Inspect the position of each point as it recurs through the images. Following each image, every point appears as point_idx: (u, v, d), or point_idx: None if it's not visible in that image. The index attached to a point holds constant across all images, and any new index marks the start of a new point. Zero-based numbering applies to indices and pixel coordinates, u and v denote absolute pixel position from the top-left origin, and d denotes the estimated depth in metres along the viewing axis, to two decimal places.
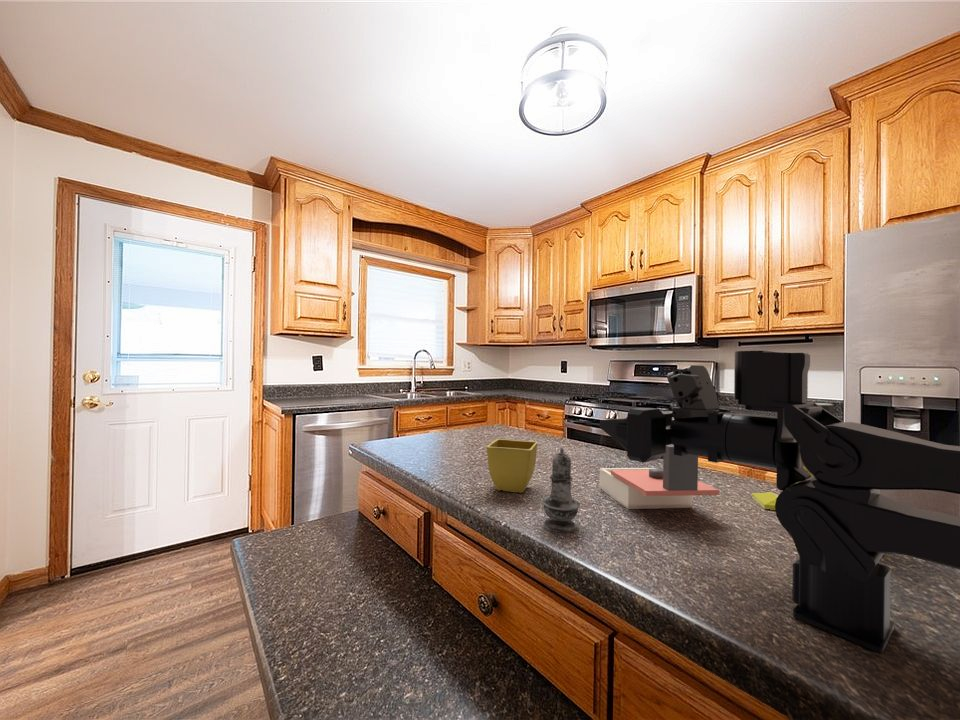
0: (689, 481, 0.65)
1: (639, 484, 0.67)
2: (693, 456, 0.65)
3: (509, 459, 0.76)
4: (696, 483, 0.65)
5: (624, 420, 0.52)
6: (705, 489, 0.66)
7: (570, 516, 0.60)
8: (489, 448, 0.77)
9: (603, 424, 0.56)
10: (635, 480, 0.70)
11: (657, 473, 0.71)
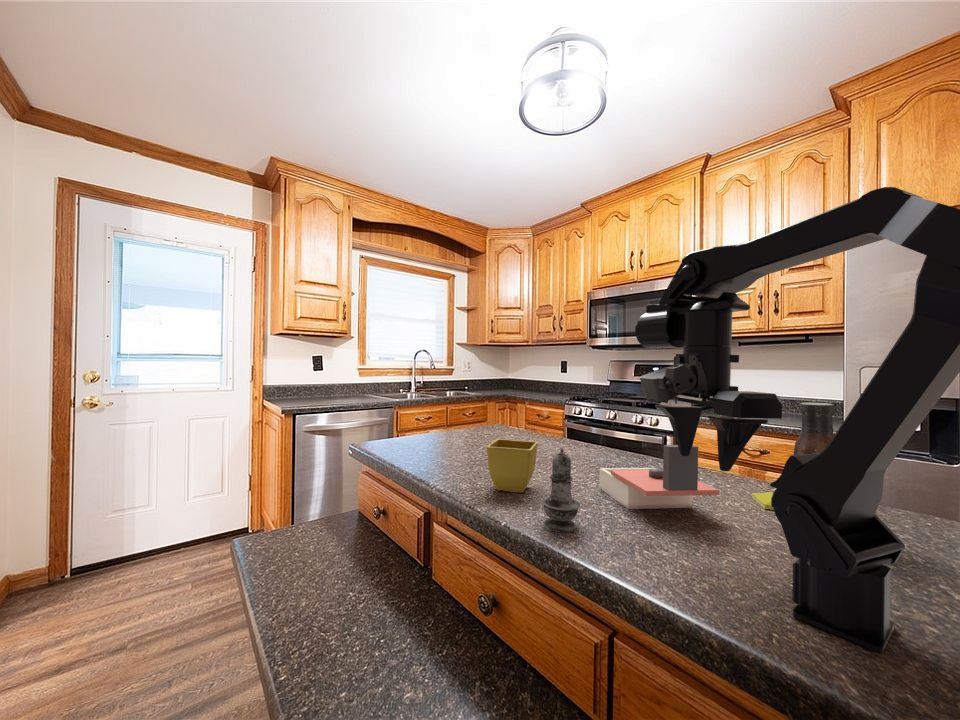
0: (689, 481, 0.65)
1: (639, 484, 0.67)
2: (693, 456, 0.65)
3: (509, 459, 0.76)
4: (696, 483, 0.65)
5: (727, 433, 0.48)
6: (705, 489, 0.66)
7: (570, 516, 0.60)
8: (489, 448, 0.77)
9: (727, 465, 0.50)
10: (635, 480, 0.70)
11: (657, 473, 0.71)
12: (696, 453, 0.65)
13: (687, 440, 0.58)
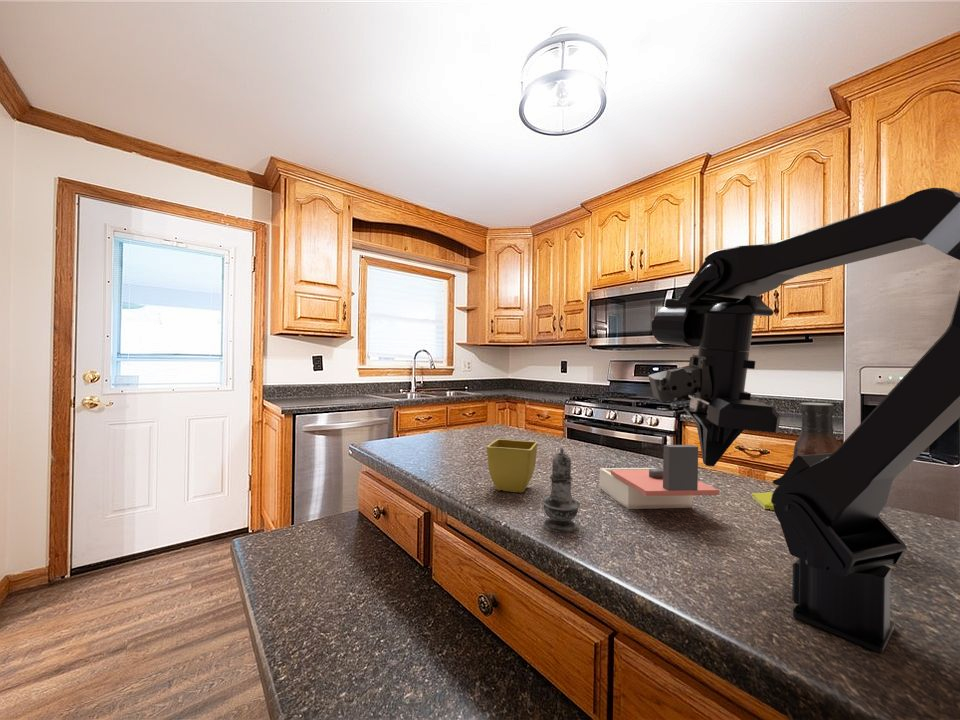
0: (689, 481, 0.65)
1: (639, 484, 0.67)
2: (693, 456, 0.65)
3: (509, 459, 0.76)
4: (696, 483, 0.65)
5: (709, 431, 0.52)
6: (705, 489, 0.66)
7: (570, 516, 0.60)
8: (489, 448, 0.77)
9: (710, 460, 0.53)
10: (635, 480, 0.70)
11: (657, 473, 0.71)
12: (696, 453, 0.65)
13: None
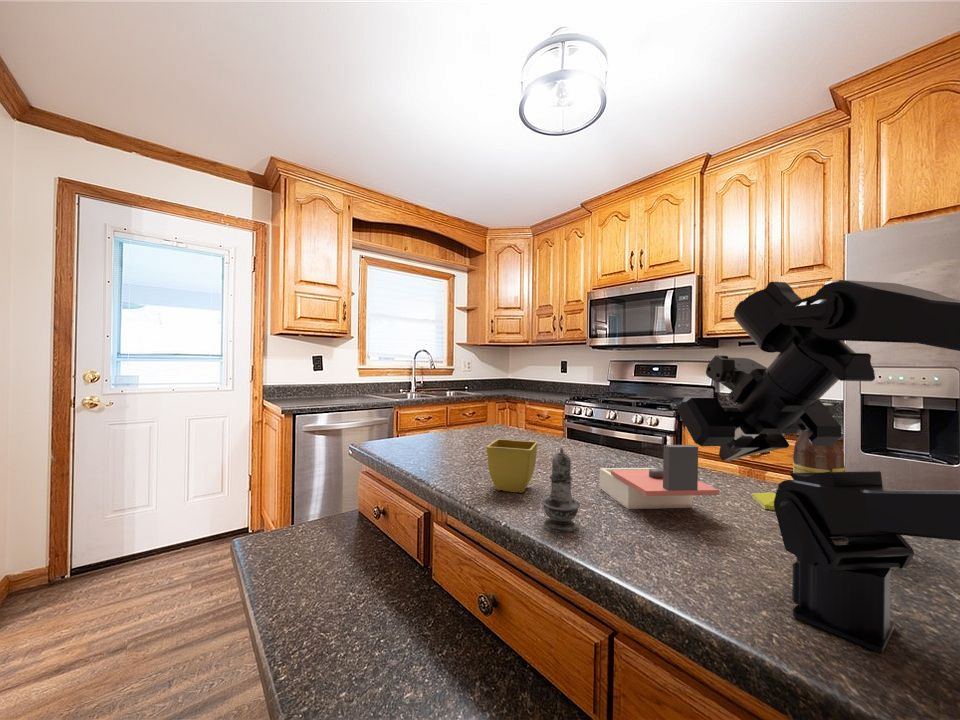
0: (689, 481, 0.65)
1: (639, 484, 0.67)
2: (693, 456, 0.65)
3: (509, 459, 0.76)
4: (696, 483, 0.65)
5: None
6: (705, 489, 0.66)
7: (570, 515, 0.60)
8: (489, 448, 0.77)
9: (721, 454, 0.55)
10: (635, 480, 0.70)
11: (657, 473, 0.71)
12: (696, 453, 0.65)
13: None
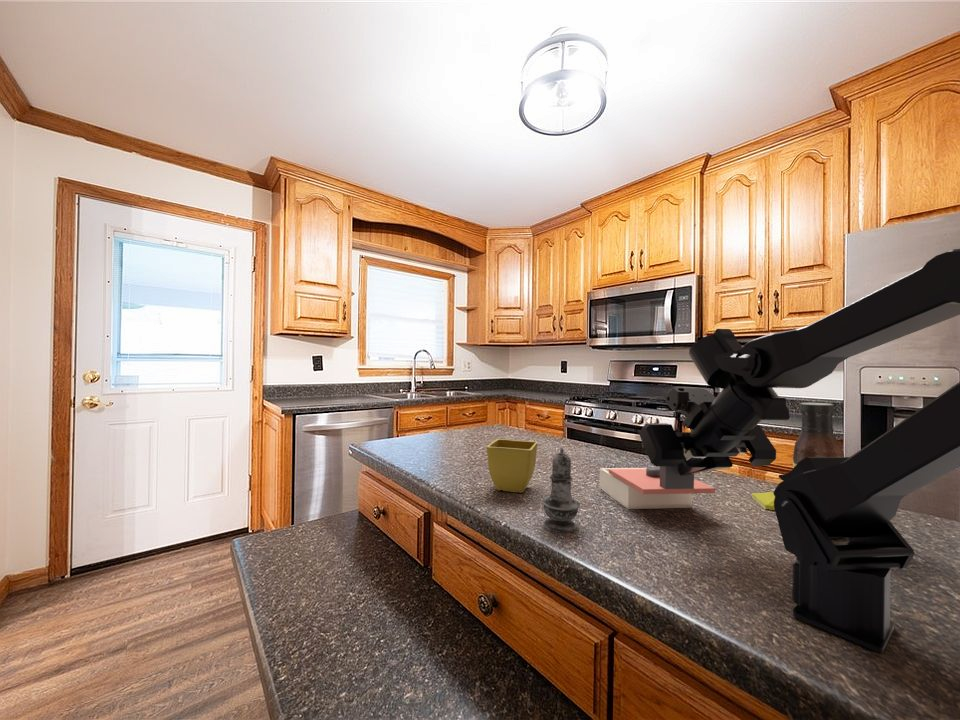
0: (685, 479, 0.66)
1: (636, 482, 0.68)
2: None
3: (509, 459, 0.76)
4: (692, 481, 0.66)
5: None
6: (701, 487, 0.66)
7: (570, 516, 0.60)
8: (489, 448, 0.77)
9: (679, 469, 0.65)
10: (632, 479, 0.71)
11: (654, 472, 0.72)
12: None
13: None
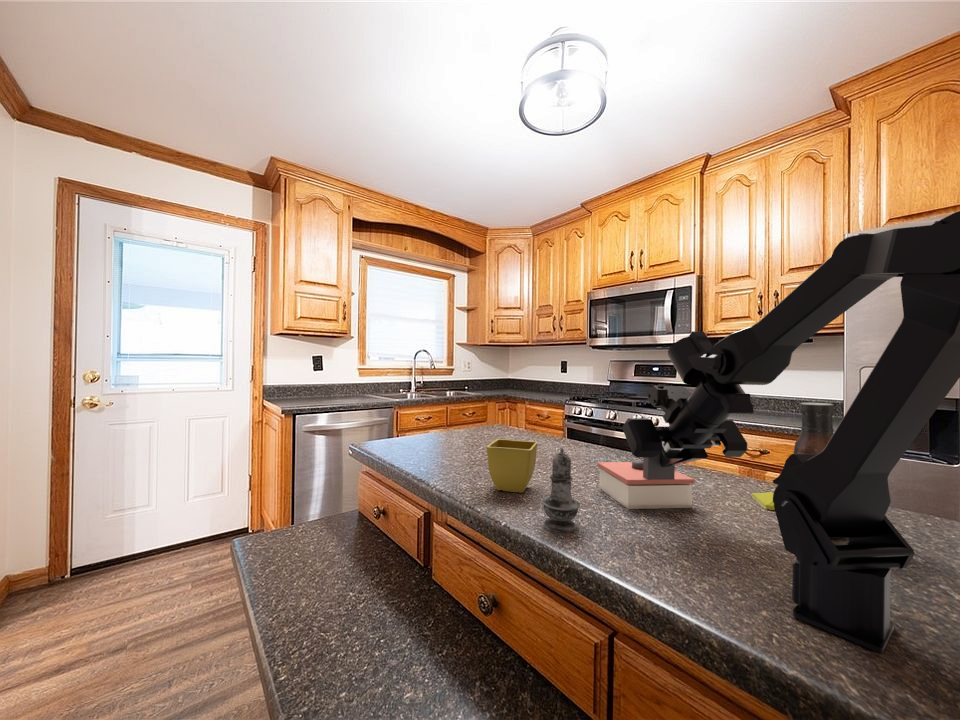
0: (667, 471, 0.71)
1: (622, 474, 0.74)
2: None
3: (509, 459, 0.76)
4: (673, 473, 0.71)
5: None
6: (681, 478, 0.72)
7: (570, 516, 0.60)
8: (489, 448, 0.77)
9: (660, 461, 0.70)
10: (618, 471, 0.76)
11: (639, 464, 0.77)
12: None
13: None
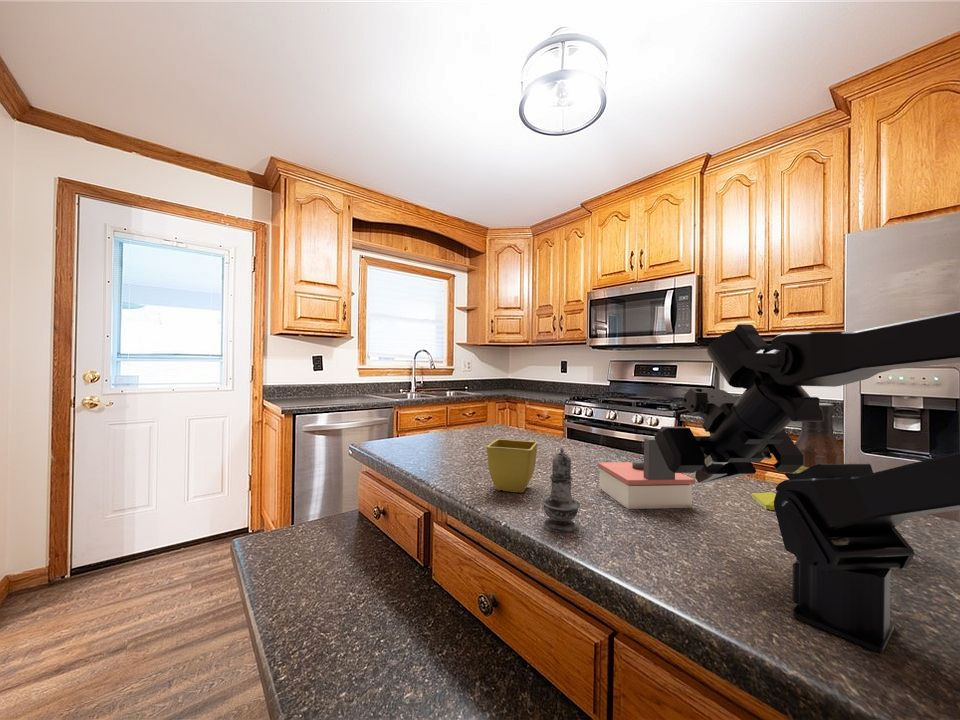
0: (667, 471, 0.71)
1: (622, 474, 0.73)
2: None
3: (509, 459, 0.76)
4: (674, 473, 0.71)
5: None
6: (682, 478, 0.72)
7: (570, 516, 0.60)
8: (489, 448, 0.77)
9: (697, 476, 0.60)
10: (619, 471, 0.76)
11: (639, 464, 0.77)
12: None
13: None
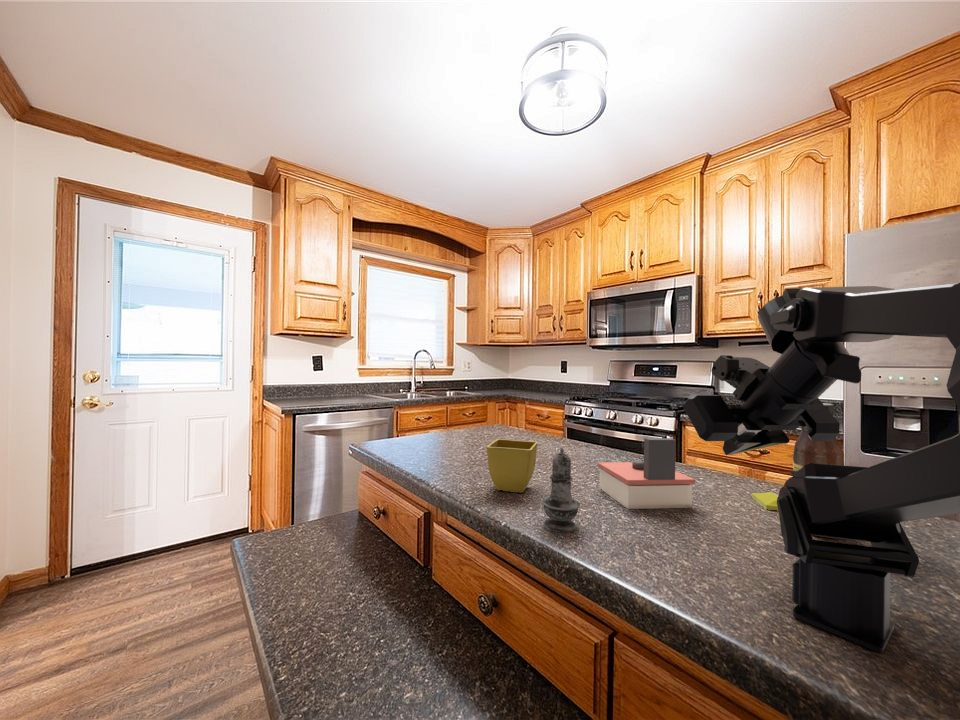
0: (667, 471, 0.71)
1: (622, 474, 0.73)
2: (671, 448, 0.71)
3: (509, 459, 0.76)
4: (674, 473, 0.71)
5: None
6: (682, 478, 0.72)
7: (570, 516, 0.60)
8: (489, 448, 0.77)
9: (725, 448, 0.58)
10: (619, 471, 0.76)
11: (639, 464, 0.77)
12: (674, 445, 0.71)
13: None
